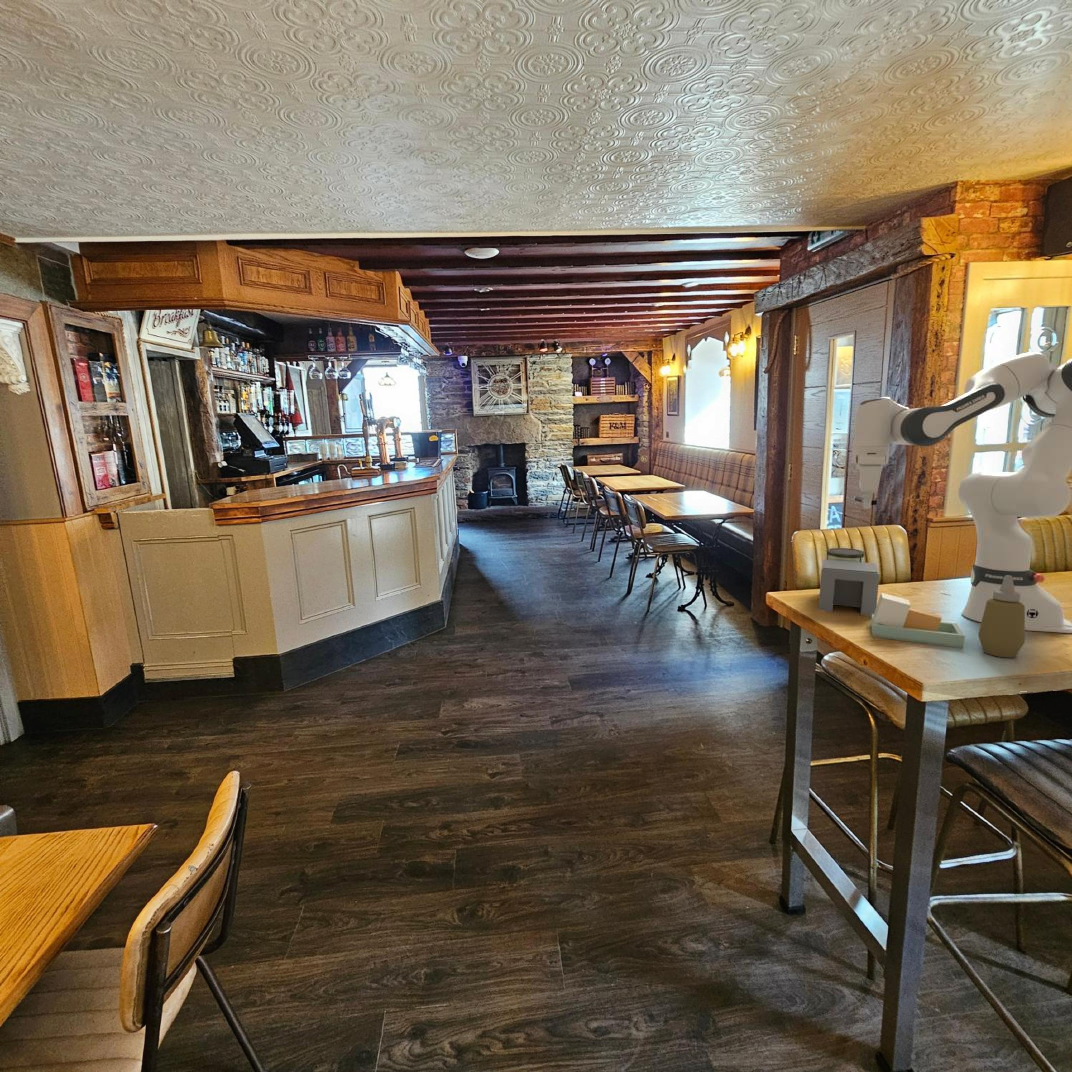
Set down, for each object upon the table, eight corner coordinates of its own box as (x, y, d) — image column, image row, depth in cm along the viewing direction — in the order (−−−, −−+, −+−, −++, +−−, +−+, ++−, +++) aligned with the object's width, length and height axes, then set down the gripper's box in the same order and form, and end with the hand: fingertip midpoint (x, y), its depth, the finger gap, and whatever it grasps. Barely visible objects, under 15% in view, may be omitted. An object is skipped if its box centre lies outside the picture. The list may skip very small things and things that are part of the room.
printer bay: (873, 604, 166) (876, 563, 164) (875, 616, 154) (879, 572, 152) (819, 598, 172) (822, 559, 170) (818, 610, 161) (821, 568, 159)
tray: (955, 635, 139) (956, 623, 139) (963, 648, 131) (964, 635, 130) (870, 625, 148) (871, 613, 147) (872, 636, 139) (873, 625, 138)
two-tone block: (873, 616, 145) (881, 592, 143) (932, 632, 139) (941, 608, 138) (874, 621, 140) (882, 597, 139) (935, 639, 135) (944, 614, 133)
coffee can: (818, 590, 181) (821, 547, 179) (852, 591, 180) (855, 547, 178) (831, 599, 171) (835, 554, 169) (867, 600, 170) (871, 554, 168)
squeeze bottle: (1022, 663, 122) (1033, 582, 119) (975, 654, 127) (984, 576, 124) (1022, 652, 128) (1033, 575, 125) (977, 644, 133) (986, 570, 130)
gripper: (856, 456, 167) (852, 502, 170) (858, 458, 150) (854, 510, 152) (881, 456, 164) (877, 503, 167) (886, 458, 147) (881, 511, 149)
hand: (866, 506), depth 159 cm, fingers open, 8 cm apart
